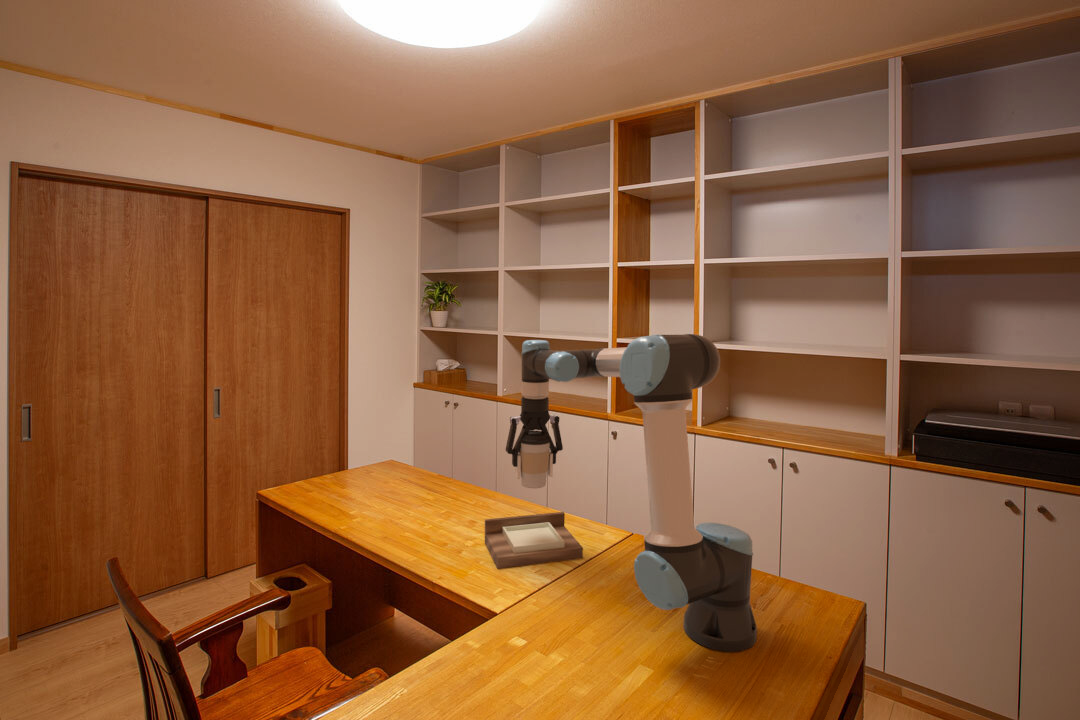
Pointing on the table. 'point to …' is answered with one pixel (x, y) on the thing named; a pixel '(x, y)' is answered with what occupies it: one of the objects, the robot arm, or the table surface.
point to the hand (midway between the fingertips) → (534, 476)
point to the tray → (532, 537)
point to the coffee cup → (534, 459)
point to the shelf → (508, 558)
